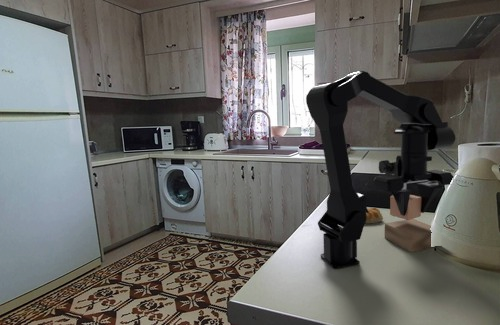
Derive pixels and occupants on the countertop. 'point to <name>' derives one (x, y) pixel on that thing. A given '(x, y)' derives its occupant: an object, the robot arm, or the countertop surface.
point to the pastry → (373, 216)
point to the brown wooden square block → (409, 234)
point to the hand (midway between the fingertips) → (412, 213)
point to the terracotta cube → (412, 208)
